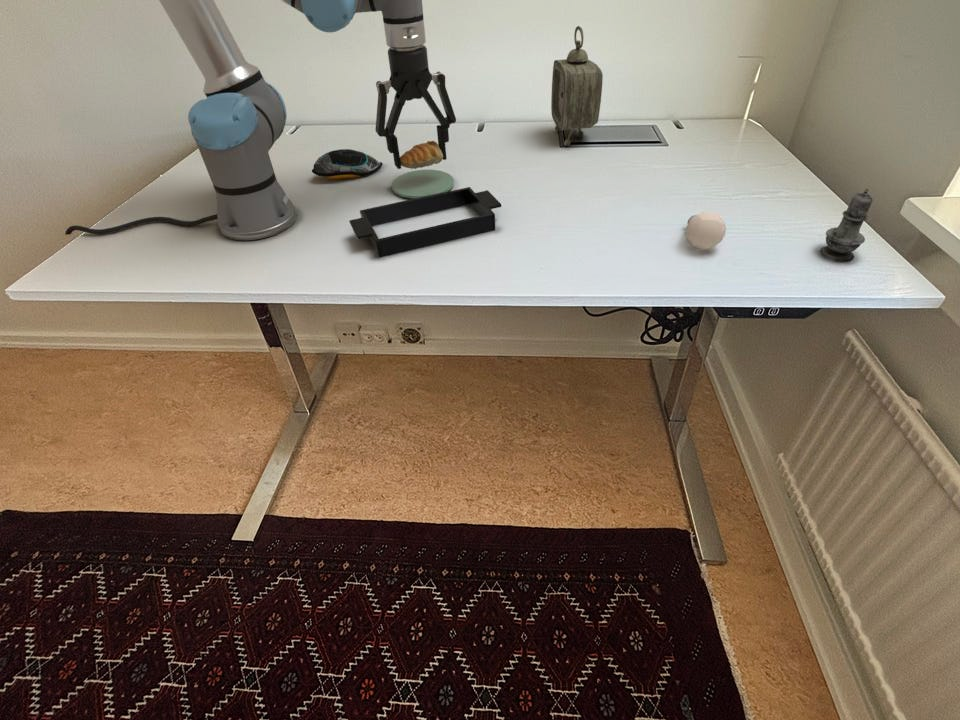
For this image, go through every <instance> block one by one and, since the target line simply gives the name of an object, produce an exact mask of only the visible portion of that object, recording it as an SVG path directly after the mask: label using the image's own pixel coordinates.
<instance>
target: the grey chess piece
mask: <svg viewBox="0 0 960 720" xmlns="http://www.w3.org/2000/svg"><path fill="white" fill-rule="evenodd" d="M873 200H874V199H873V196H871V195H870V194H869V188H865V189H864V190H863V192H858V193H856V194H854V195H853V196H852V197H851V200H850V203H849V204H848V206H847V208H846V210H844V211H842V219H841V221H840V223H839V225H838V226H836V227H830V228H828V229H827V230H826V231H825V236H826V237H825V243H826V245H825V246H823V247H821V248H820V249H819V253H820V255H821V256H822V257H824V258H825V259H827V260H829V261H832V262H838V263H849V262H852V261H853V260H854V259H855V255H854V253H853V252H854V251H856V250H857V249H858V248H859V247H860V246H861V245H862V244H864V243H865V241H866V238H865V236H864V235H863V234H862V233H860V231H861V228H862V226H863V224H864V221H867V219H868V215H867V214H868V212H869V210H870V208H871V206H872V203H873Z"/></svg>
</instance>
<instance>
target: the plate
mask: <svg viewBox="0 0 960 720" xmlns="http://www.w3.org/2000/svg"><path fill="white" fill-rule="evenodd" d="M454 185H455V180H454V177H453V176H452V175H451V174H450V173H448V172H446V171H443V170H438V169H415V170H412V171H409V172H405V173H402V174H400V175H398V176H397V177H395V178H394V179H393V180H392V182H391V190H392V192H393V193H394V194H396V195H397V196H399V197H401V198H406V199H416V198H420V197H425V196H430V195H434V194H439V193H444V192H448V191H451V190H452V188H453V187H454Z"/></svg>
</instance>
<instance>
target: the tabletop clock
mask: <svg viewBox="0 0 960 720" xmlns="http://www.w3.org/2000/svg"><path fill="white" fill-rule="evenodd" d="M578 31H579V33H580V37H581V38H580V39H581V40H578V39H577V33H578ZM573 40H574V44H575V45H574V46H575V48H573V49H571V50H570V51H569V52H568V54H567V57H566V59H555V60H554V61H553V66H552V77H551V78H552V79H551V100H550V102H551V103H550V104H551V106H550V109H551V118H552V121H553V122H554V124H555V127H554V130H555V132H560V131H568V133H567V134H568V135H567V139H565V140H564V142H563V145H564V147H569V146H570V145H571V140H570V139H571V137H572V135H573V133H574V131H575V130H578V131H577V133H576V136H577V138H583V136H584V132H583V131H582V129H591V128H592V127H594V126H595V125H597V124H598V123H599V118H600V110H601V104H602V103H601V102H602V95H603V94H602V93H603V78H604V77H603V76H604V75H603V71H602V69H601V68H600V67H599V65H597V63H595V62H594V61H592V60H590V59H589V56H588V53H587V51H586V50H584V49H582V48H583V46H584V30H583V28H582V27H581V26H580V25H577V26H576V27H575V29H574V39H573Z"/></svg>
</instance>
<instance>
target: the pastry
mask: <svg viewBox="0 0 960 720" xmlns="http://www.w3.org/2000/svg"><path fill="white" fill-rule="evenodd" d="M442 161H443V154H442V151H441V149H440V148H439V145H438V142H436V141H435V140H427V141H426V142H424V143H423V142H422V143H419V144H415V145H413V146H412V148H410V149H409V150H407V151H405V152H403V154H402V155H400V162H401V167H402V168H407V169H411V170H413V169H414V170H417V169H418V168H421V169H422V168H426V167H430V166H433V165H437V164H440V163H441V162H442Z"/></svg>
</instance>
